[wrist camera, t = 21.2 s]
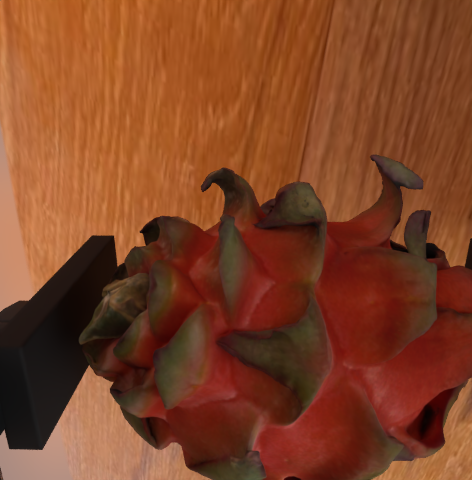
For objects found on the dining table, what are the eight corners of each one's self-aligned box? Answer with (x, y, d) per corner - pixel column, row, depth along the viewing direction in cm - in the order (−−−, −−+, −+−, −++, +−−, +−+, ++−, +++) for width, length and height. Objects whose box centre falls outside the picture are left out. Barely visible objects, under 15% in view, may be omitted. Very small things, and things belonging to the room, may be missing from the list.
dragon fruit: (108, 237, 17) (401, 219, 18) (111, 478, 15) (444, 439, 16) (25, 123, 9) (565, 104, 10) (4, 621, 7) (699, 519, 8)
